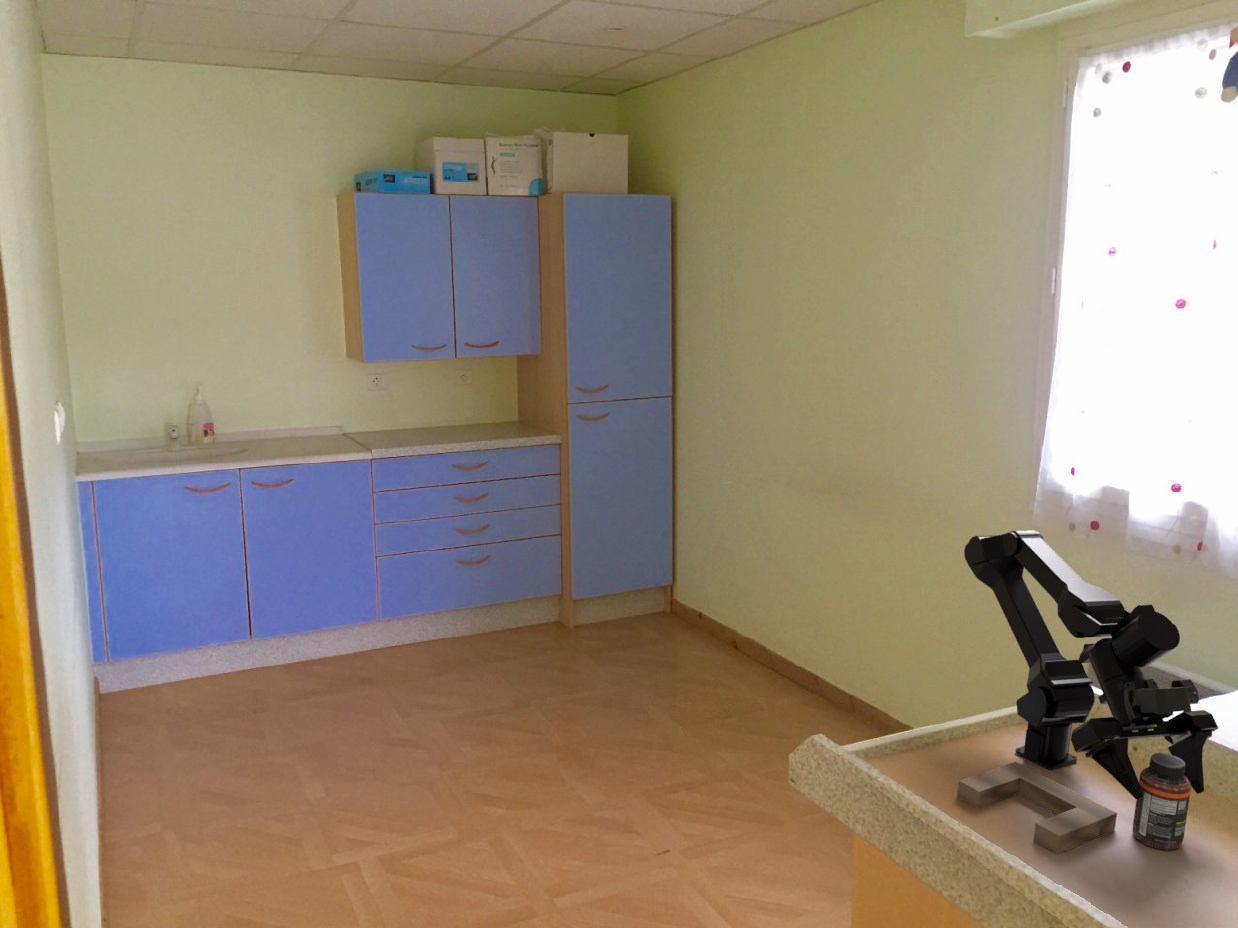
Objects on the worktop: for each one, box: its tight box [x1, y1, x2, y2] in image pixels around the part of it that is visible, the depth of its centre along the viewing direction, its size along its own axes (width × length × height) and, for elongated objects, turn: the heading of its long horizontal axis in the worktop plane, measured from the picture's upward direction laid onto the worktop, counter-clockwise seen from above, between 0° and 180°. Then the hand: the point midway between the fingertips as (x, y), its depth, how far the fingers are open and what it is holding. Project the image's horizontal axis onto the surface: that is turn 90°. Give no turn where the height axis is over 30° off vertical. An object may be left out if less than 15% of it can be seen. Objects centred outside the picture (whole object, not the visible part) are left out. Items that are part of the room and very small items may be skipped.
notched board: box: [956, 761, 1118, 855], centre depth 141 cm, size 12×16×2 cm
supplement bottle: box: [1132, 752, 1192, 851], centre depth 135 cm, size 6×6×11 cm
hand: (1170, 795), depth 133 cm, fingers open, 9 cm apart
